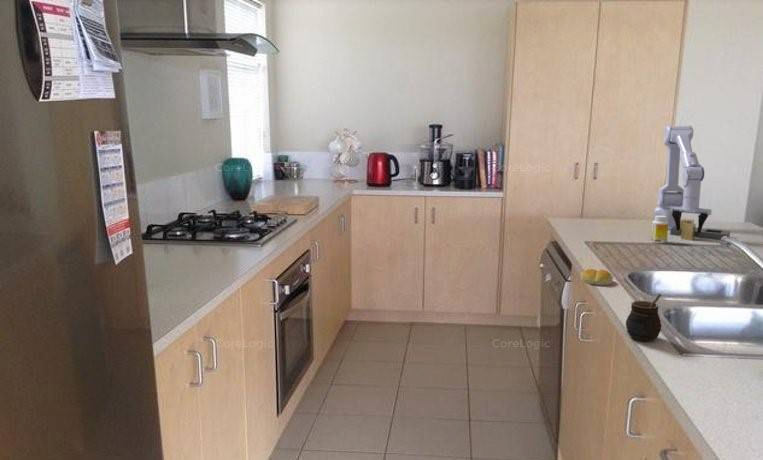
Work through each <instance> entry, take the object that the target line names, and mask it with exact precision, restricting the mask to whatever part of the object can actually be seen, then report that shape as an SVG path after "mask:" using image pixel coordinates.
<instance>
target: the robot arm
mask: <svg viewBox="0 0 763 460" xmlns="http://www.w3.org/2000/svg"><path fill="white" fill-rule="evenodd" d="M663 134H664V135H663V144H664V146H666V147H667V155H666V156H667V157H666V158H667V159H666V175H665V176H666V177H665V184H664V185H663V186H661V187H660V188H658V192H657V196H656V202H657V205H658V206H656V207H655V209H654V211H653V221H655V216H666V221H667V222H668V229H669V230H671V228H673V227H675V226H676V229H677V230H680V222H681V220H682V214H683V213H685V214H697V215H698V225H697V228H698V233H700V232H701V229H702V228H703V226H704V224H705V222H706V221H707V219H708V217H709V216H711V215H712V209H709V208H701V207H700V197H701V186H702V185H701V184H702V182H703V180H704V179H705V168H704V166H703V165H702V164H700V163H699V160H698V156H697V153H696V152H694V151H693V150H692V149H693V148H692V143H691V142H692V139H693V137H694V128H693V126H692V125H677V126H676V125H667V126H666V127H665V129H664V133H663ZM680 161H681V166H682V170H683V171H682V184H683V187H681V186H680V185H679V178H680Z"/></svg>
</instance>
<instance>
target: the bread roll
mask: <svg viewBox="0 0 763 460" xmlns="http://www.w3.org/2000/svg"><path fill="white" fill-rule="evenodd" d="M613 279H614V277H613V275H612V273H610V271H608V270H606V269H600V270H597V269H593V268H588V269H585V270H584V271H582V273H581V274H580V280H581V281H582V283H585V284H587V285H593V286H594V285H596V286H609V285H611V284H612V283H613V281H614V280H613Z"/></svg>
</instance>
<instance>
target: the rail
mask: <svg viewBox="0 0 763 460" xmlns="http://www.w3.org/2000/svg"><path fill="white" fill-rule="evenodd" d="M681 233H682V229H680V230H677V229H676V226H675V227H673V228H671V229H670V233H669V235H671V236H680V237H681ZM730 235H731V230H723V229H722V230H721V229H711V228H703V227H702V229H701V232H700V233H698V227H696V230H695V238H699V239H706V240H707V239H708V240H717V241H722V240H721V238H722V237H723V236H727V237H729V238H730V237H731V236H730Z"/></svg>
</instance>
